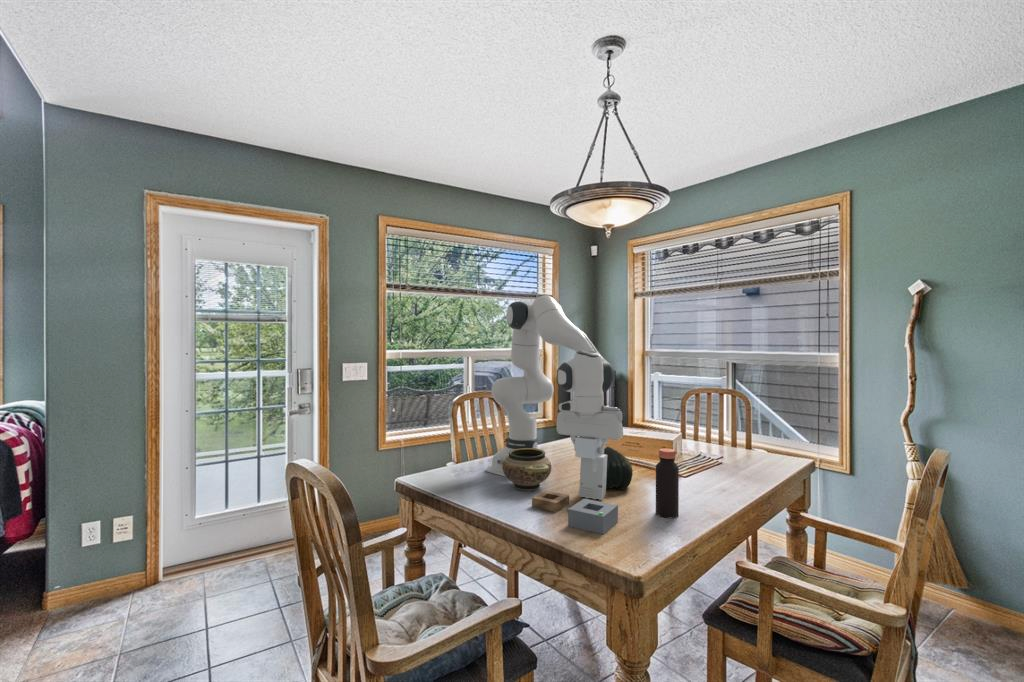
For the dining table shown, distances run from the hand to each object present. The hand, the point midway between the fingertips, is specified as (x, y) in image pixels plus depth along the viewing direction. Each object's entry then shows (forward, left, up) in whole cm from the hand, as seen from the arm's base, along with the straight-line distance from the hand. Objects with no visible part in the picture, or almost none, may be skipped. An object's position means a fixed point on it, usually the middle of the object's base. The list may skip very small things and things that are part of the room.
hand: (589, 452), depth 146 cm
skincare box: (-9, +23, -21) cm, 32 cm away
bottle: (+17, +20, -21) cm, 34 cm away
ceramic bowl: (-34, +20, -21) cm, 44 cm away
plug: (0, 0, -6) cm, 6 cm away
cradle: (-17, +7, -21) cm, 28 cm away
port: (+1, 0, -21) cm, 21 cm away
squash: (-8, +37, -21) cm, 43 cm away
